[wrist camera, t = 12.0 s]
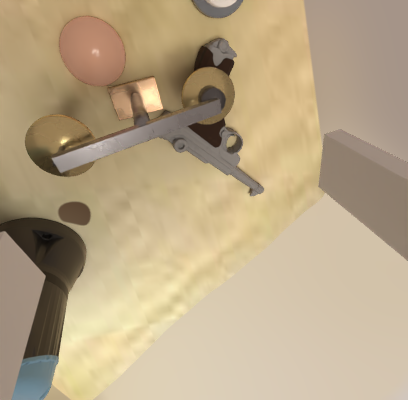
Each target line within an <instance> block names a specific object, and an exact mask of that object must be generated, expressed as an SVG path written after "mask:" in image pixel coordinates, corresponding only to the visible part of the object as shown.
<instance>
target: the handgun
mask: <svg viewBox="0 0 408 400" xmlns="http://www.w3.org/2000/svg"><path fill="white" fill-rule="evenodd" d="M236 56H237V54H236V53H235V52H234V50H233V49H232V48H231V47H230V46H229V44H228V41H226V40H225V39H223V38H218V39H215V40H213V41H211V42H210V43H209V44H205V46H202V47H201V49H200V51H199V53H198V56H197V59H196V62H195V68H194V72H195V71H196V70H198V69H200V68H204V67H214V68H217V69H219V70H222V71H223V72H225V73H226V74H227V75H228V76H229V75H230V72H231V70H232V68H233V66H234V61H233V58H234V57H236ZM167 114H170V112H168V111H164V113H163V114H162V116H164V115H167ZM234 134H236V135H237V141H236V143H235V145H234V146H233V147H229V148H226V142H227V140H228V138H229V137H230V136H235V135H234ZM159 137H160V138H163V139H165V140H168V141H169V142H171V143H172V144H173V147H174V149H175V150H176V151H177V152H180V153H181V152H184V151H188V152H189V153H191V154H192V155H194V156H195V157H197V158H198V159H199V160H201V161H202V162H204V163H210V164H212V165H213V166H214V167H216V168H217V169H219V170H220V171H222V172H223V173H224V174H226V175H229V174H230V175H232V176H233V177H235V178H236V179H238V180H239V181H241V182H242V183H244V184H245V185H247V186H248V187H250V188H251V189H252V191H251V193H250V196H255V195H257V194H261V193H263V191H264V188H263V187H262V186H261V185H260V184H258V183H256V182H255V181H254V180H252V179H251V178H250V177H249V176H247V175H246V174H245V173H244V172H242V171H241V170H240V169H239V168H237V167H236V166H237V164H238V163H239V161H240V157H239V155H238V154H237V153H238V152H239V151H240V150H241V149H242V146H243V139H242V137H241V136H240V135H239V134H238V133H237V132H236V131H234V130H233V129H231V128H226V127H225V120H224V118H223V119H222V120H220V121H219V122H217V123H214V124H208V125H206V124H200V123H194V124H191V125H188V126H186V127H183V128H180V129H178V130H175V131H172V132H170V133H167V134H164V135H162V136H159Z"/></svg>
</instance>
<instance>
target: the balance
mask: <svg viewBox="0 0 408 400" xmlns="http://www.w3.org/2000/svg"><path fill="white" fill-rule="evenodd" d="M108 92H109V94H110V97H111V99H112V102H113V105H114V107H115V110H116V112H117V115H118V117H119V120H123V119H127V118H131V117H133V119H134V125H135V126H132V127H130V128H127V129H124V130H121V131H118V132H115V133H112V134H109V135H107V136H104V137H101V138H98V139H95V137H94V135H93V134H92V132H91V131H90V130H89V129H88V127H86V126H85V125H84V124H83V123H81V122H80V121H78V120H76V119H74V118H72V117H69V116H65V115H48V116H45V117H42V118H40V119H38V120H37V121H35V122H34V123H33V124H32V125H31V127H30V128H29V130H28V131H27V134H26V137H25V146H26V150H27V152H28V155H29V156H30V158H31V159H32V161H33V162H34V163H35V164H36V165H37V166H39V167H40V168H41V169H43V170H44V171H46V172H48V173H51V174H54V175H57V176H64V177H70V176H76V175H80V174H82V173H84V172H86V171H87V170H89V169H90V168H91V167H92V165H93V164H94V162H95V160H97V159H100V158H102V157H105V156H108V155H110V154H113V153H116V152H118V151H121V150H124V149H127V148H129V147H132V146H135V145H137V144H140V143H143V142H145V141H149V140H151V139H153V138H156V137H159V136H162V135H164V134H167V133H170V132H172V131H175V130H178V129H180V128H183V127H186V126H188V125H191V124H194V123H200V124H206V125H208V124H214V123H217V122H219V121H220V120H222V119H223V118H224V117H225V116H226V115H227V114H228V113H229V111H230V110H231V108H232V105H233V102H234V96H235V92H234V86H233V83H232V81H231V79H230V78H229V76H228V75H227V74H226V73H225V72H223V71H222V70H219V69H217V68H214V67H204V68H200V69H198V70H196V71H195V72H193V73H192V74H191V75H190V76H189V77H188V78H187V80H186V82H185V84H184V86H183V89H182V104H183V107H184V109H181V110H178V111H175V112H172V113H170V114H167V115H164V116H161V117H158V118H155V119H152V120H150V119H149V116H148V113H149V112H153V111H157V110H160V109H163V107H162V103H161V100H160V96H159V92H158V89H157V85H156V81H155V78H154V76H151V77H147V78H143V79H139V80H135V81H131V82H127V83H124V84H120V85H116V86H112V87H108Z"/></svg>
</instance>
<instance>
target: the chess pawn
mask: <svg viewBox="0 0 408 400" xmlns="http://www.w3.org/2000/svg"><path fill="white" fill-rule="evenodd" d="M236 1H237V0H206V2H207V3H209V4H210V5H211V6H214V7H217V8H222V7H228V6H230V5H232V4H233V3H235V2H236Z"/></svg>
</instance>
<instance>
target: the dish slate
mask: <svg viewBox="0 0 408 400" xmlns="http://www.w3.org/2000/svg"><path fill="white" fill-rule="evenodd" d="M192 2H193V3H194V5H195V6H196V8H197V9H198V10H199V11H200V12H201V13H203V14H204V15H206V16H208V17H212V18H223V17H226V16H229V15H231V14H232V13H233V12H235V11H236V10H237V9H238V8H239V6H240V5H241V3H242V2H243V0H237V1H236V2H235V3H233V4H232V5H230V6H228V7H222V8H217V7H214V6H211V5H210V4H209V3H207V2H206V0H192Z"/></svg>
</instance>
